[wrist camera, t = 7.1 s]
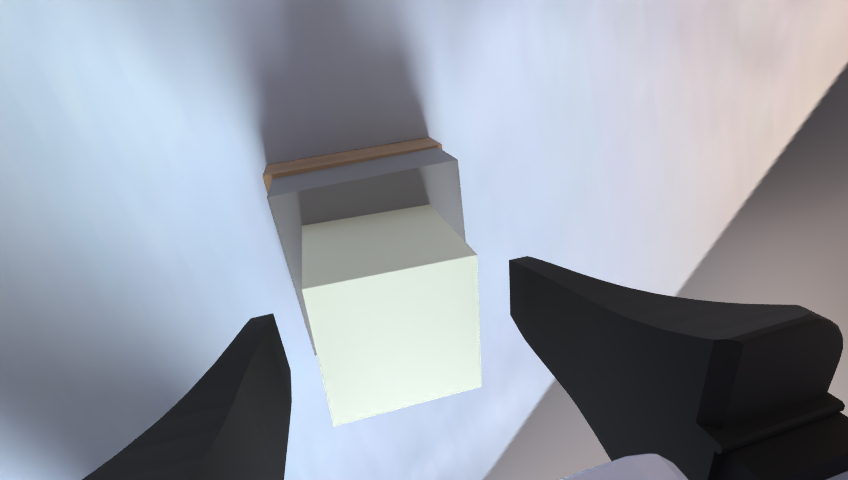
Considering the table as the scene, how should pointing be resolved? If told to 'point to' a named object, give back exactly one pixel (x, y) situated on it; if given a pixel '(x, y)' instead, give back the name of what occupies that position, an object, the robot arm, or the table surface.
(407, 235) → the sage block
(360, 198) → the grey flat block
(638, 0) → the table surface
